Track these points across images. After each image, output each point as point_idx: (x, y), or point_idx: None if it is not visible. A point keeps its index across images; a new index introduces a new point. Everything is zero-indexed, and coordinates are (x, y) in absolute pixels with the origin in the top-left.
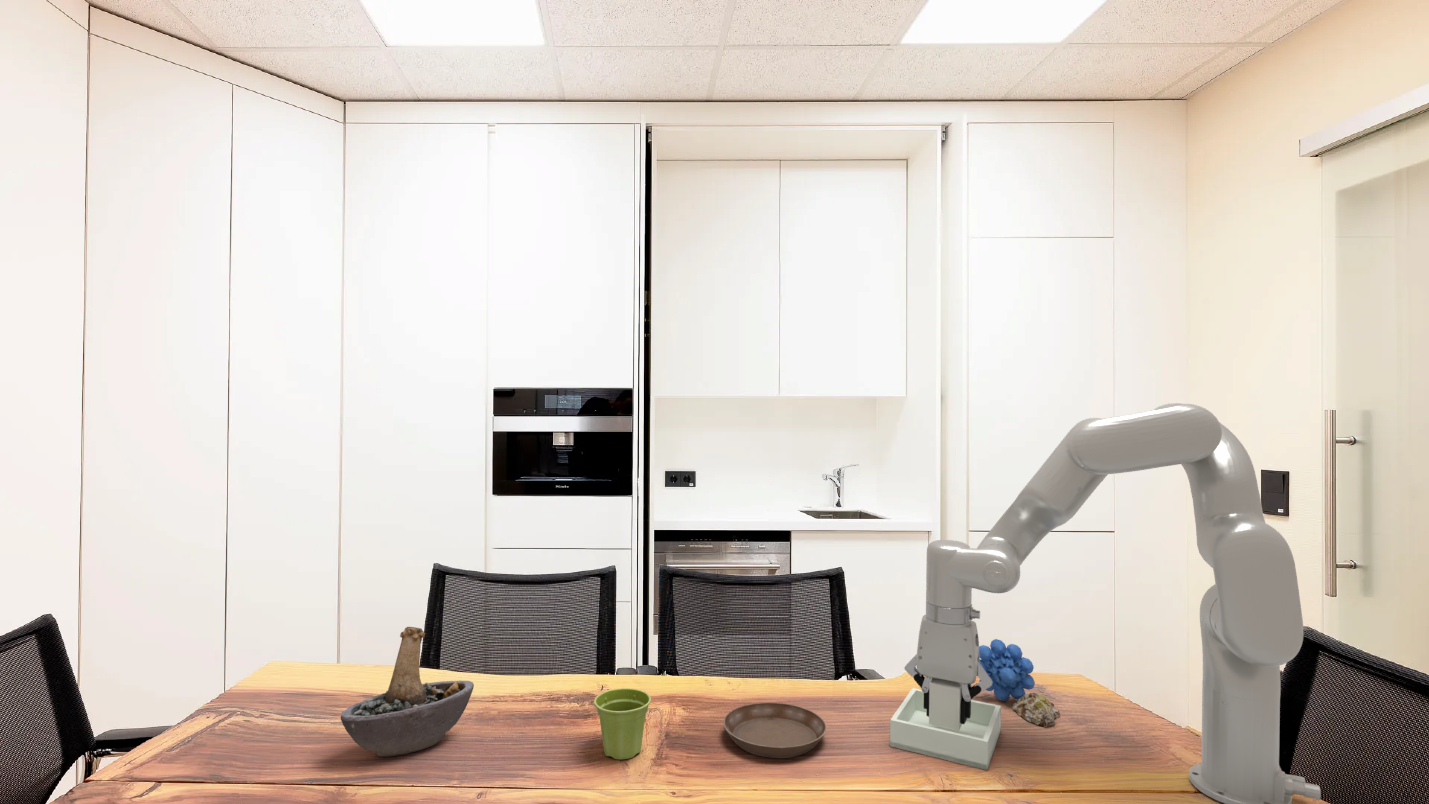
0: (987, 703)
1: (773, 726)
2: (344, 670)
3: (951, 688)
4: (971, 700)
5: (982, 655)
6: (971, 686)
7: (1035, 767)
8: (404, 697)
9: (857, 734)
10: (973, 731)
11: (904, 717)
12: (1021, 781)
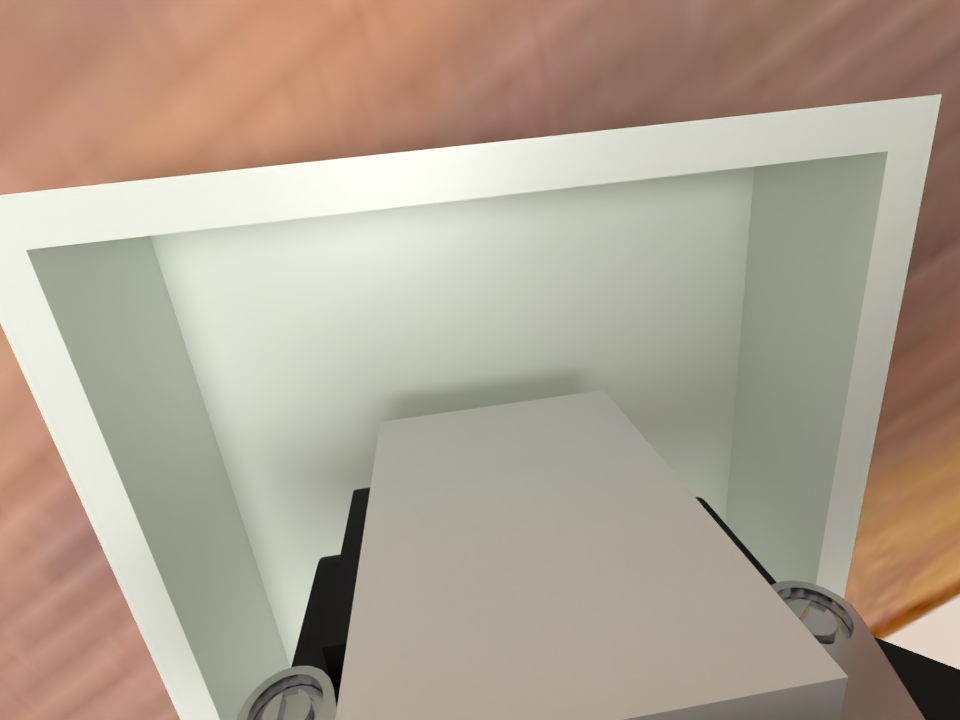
0: (814, 120)
1: None
2: None
3: None
4: (654, 147)
5: None
6: (905, 701)
7: (926, 452)
8: None
9: (72, 678)
10: (628, 320)
11: (224, 586)
12: (856, 593)
